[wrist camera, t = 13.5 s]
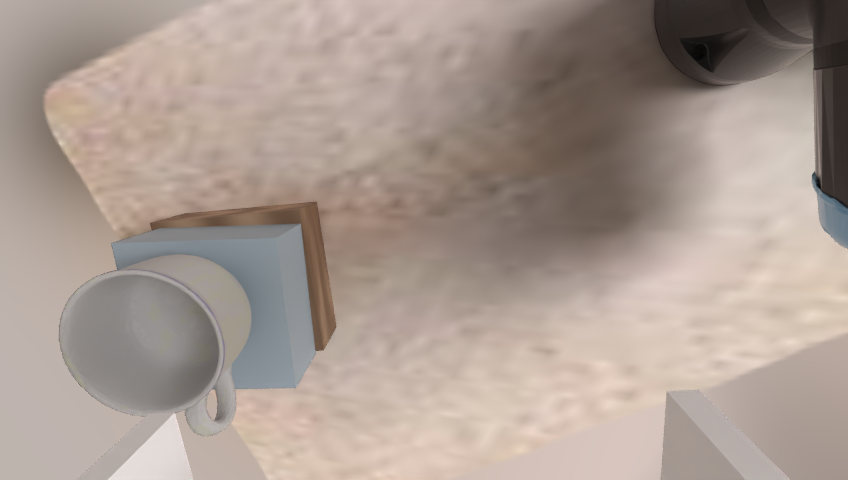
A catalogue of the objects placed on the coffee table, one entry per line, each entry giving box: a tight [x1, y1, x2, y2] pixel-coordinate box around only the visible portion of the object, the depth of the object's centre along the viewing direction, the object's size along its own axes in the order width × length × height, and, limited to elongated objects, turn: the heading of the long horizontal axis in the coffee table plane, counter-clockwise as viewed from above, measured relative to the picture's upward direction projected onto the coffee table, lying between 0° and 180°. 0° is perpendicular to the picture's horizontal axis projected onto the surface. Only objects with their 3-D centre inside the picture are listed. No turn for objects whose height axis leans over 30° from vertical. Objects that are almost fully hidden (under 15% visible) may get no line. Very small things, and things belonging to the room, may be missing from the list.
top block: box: [111, 224, 316, 389], centre depth 37 cm, size 14×14×6 cm
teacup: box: [59, 254, 252, 436], centre depth 30 cm, size 14×11×8 cm
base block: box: [150, 202, 336, 351], centre depth 42 cm, size 15×15×6 cm
